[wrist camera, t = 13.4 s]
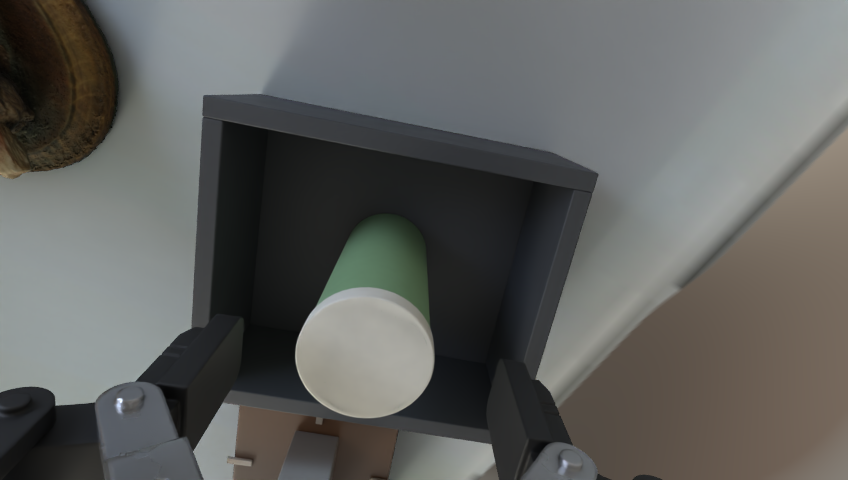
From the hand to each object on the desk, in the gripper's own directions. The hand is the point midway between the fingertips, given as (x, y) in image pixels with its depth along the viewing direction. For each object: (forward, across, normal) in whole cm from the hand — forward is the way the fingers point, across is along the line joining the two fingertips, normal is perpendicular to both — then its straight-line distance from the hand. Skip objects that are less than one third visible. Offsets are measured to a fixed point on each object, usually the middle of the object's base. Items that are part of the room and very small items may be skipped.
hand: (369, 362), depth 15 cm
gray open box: (+12, 0, 0) cm, 12 cm away
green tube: (+12, 0, +1) cm, 12 cm away
